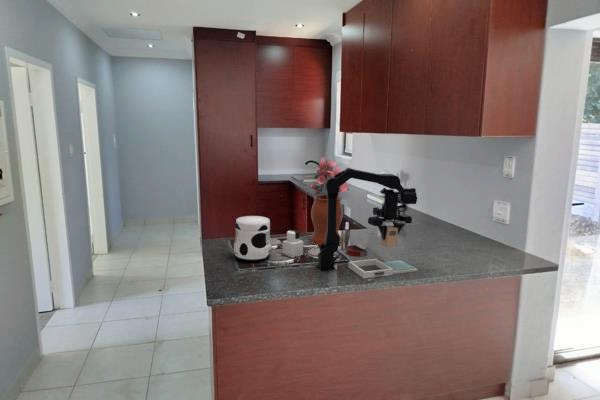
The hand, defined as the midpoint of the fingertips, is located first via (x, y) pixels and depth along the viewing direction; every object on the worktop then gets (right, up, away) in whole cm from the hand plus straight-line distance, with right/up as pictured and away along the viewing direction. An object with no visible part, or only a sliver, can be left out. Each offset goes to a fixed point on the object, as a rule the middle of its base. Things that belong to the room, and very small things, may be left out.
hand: (389, 239), depth 175 cm
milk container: (-60, -10, +13) cm, 62 cm away
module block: (0, -3, 0) cm, 2 cm away
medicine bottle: (-42, -9, +17) cm, 46 cm away
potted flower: (-25, -5, +42) cm, 49 cm away
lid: (+5, -13, +5) cm, 15 cm away
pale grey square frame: (-8, -14, 0) cm, 16 cm away
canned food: (-11, -10, +23) cm, 27 cm away
